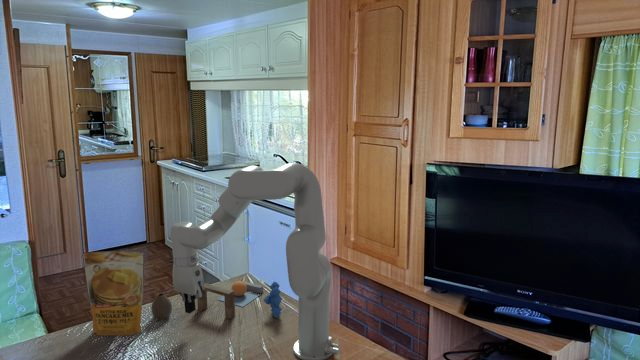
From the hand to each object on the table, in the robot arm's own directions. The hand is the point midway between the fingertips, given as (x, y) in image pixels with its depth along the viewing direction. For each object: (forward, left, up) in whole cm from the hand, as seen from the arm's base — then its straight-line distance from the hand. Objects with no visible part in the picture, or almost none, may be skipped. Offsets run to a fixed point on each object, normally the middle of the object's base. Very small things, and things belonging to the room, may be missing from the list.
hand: (190, 311), depth 152 cm
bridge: (+1, -14, -7) cm, 16 cm away
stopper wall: (+1, -35, -7) cm, 36 cm away
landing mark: (+1, -28, -7) cm, 29 cm away
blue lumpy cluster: (-18, -23, -7) cm, 30 cm away
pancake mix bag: (+21, +12, -7) cm, 25 cm away
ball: (+2, -29, -4) cm, 29 cm away
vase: (+16, -2, -7) cm, 17 cm away
